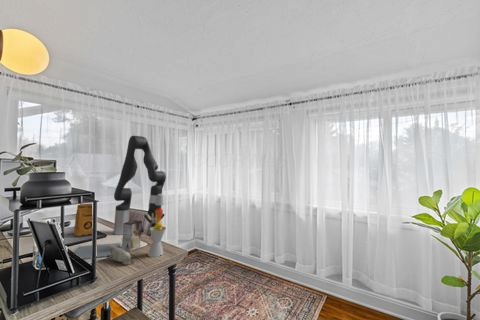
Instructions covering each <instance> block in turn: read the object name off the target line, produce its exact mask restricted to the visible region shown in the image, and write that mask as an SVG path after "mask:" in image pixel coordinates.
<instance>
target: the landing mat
mask: <svg viewBox="0 0 480 320" xmlns="http://www.w3.org/2000/svg"><path fill="white" fill-rule="evenodd" d="M110 244H113V245H115V246H116V247H119V248H121V246H122V242H114V243H104V244H103V243H102V244H96V245H97V256H96V258H95V259H101V258H107V254H108V256H109V255H110V249H111V248H110V246H109V245H110ZM92 245H93V244H92ZM92 245H91V244H90V245H80V246H78V247H77V249H76V250H75V252H74V253H75V254H77V255H78V256H79V257H81V258H82V259H83V260H91V257H92ZM110 257H111V258H112V256H111V255H110V256H109V257H108V258H110Z"/></svg>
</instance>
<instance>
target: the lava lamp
mask: <svg viewBox="0 0 480 320" xmlns="http://www.w3.org/2000/svg"><path fill="white" fill-rule="evenodd" d="M155 205H161V206H165V199H164V194H163V193H162V194H158V196H157V200H156V204H155ZM162 213H163V214H164V210H163V208H162V207H161V208H157V209H156V210H155V214H156V216H157V222H156V225H155V227H151V226H150V227H149V232H150V236H151V240H152V243H151V246H150V247H149V251H148V253H147V256H148V257H149V256H150V258H158V257H157V256H160V255H162V254H163V253H164V250H163V245H162V239H163V237H164V234H165V232H166V230H167V229H166V227H165V226H163V223H162V222H161V220H162V219H161V216H162ZM163 255H164V254H163ZM163 255H162V256H163ZM160 257H161V256H160Z"/></svg>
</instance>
